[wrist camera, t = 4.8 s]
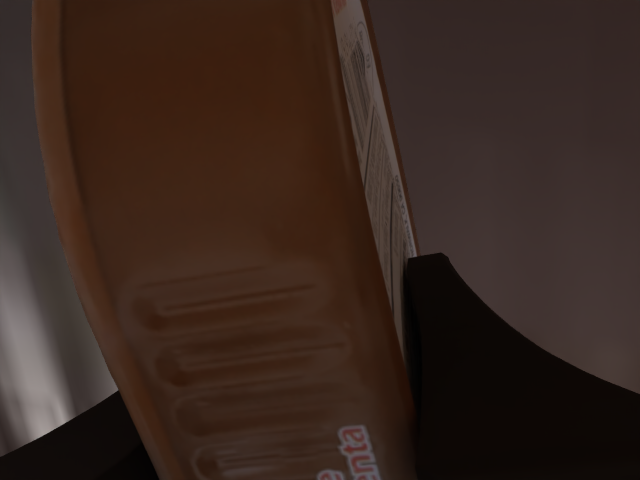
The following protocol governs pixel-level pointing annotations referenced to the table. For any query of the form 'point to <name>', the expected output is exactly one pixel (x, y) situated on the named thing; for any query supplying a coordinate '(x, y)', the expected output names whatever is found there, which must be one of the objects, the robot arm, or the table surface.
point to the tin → (237, 230)
